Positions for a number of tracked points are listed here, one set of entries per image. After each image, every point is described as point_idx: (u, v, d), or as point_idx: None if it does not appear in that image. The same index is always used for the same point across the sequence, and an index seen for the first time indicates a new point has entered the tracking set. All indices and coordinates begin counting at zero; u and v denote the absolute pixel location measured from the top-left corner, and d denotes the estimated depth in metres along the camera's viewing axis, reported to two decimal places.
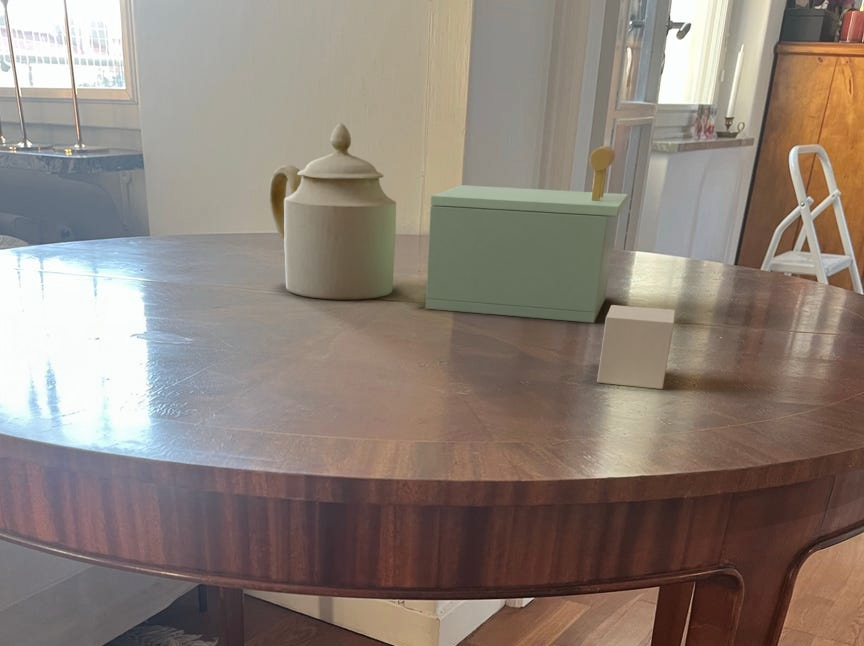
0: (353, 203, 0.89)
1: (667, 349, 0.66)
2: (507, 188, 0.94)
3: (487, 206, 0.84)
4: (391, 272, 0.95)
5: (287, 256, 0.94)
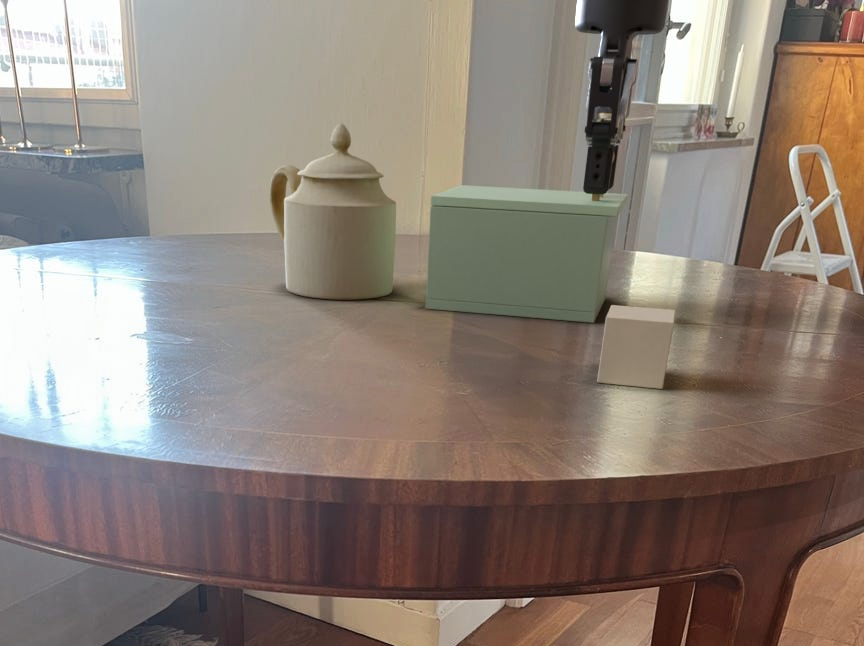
0: (353, 203, 0.89)
1: (667, 349, 0.66)
2: (507, 188, 0.94)
3: (487, 206, 0.84)
4: (391, 272, 0.95)
5: (287, 256, 0.94)
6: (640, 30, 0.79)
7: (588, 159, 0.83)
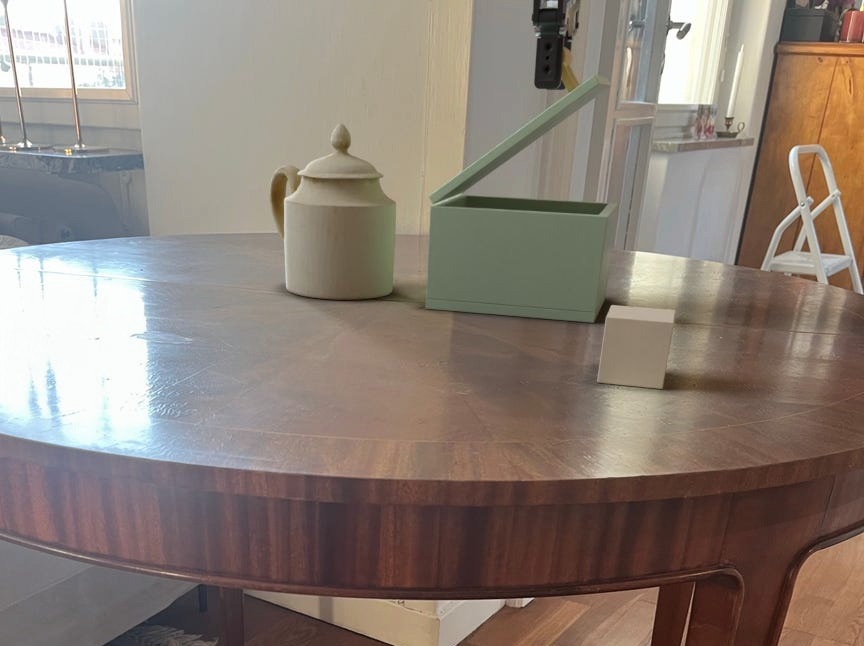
0: (353, 203, 0.89)
1: (667, 349, 0.66)
2: None
3: (480, 167, 0.83)
4: (391, 272, 0.95)
5: (287, 256, 0.94)
6: None
7: (538, 51, 0.80)
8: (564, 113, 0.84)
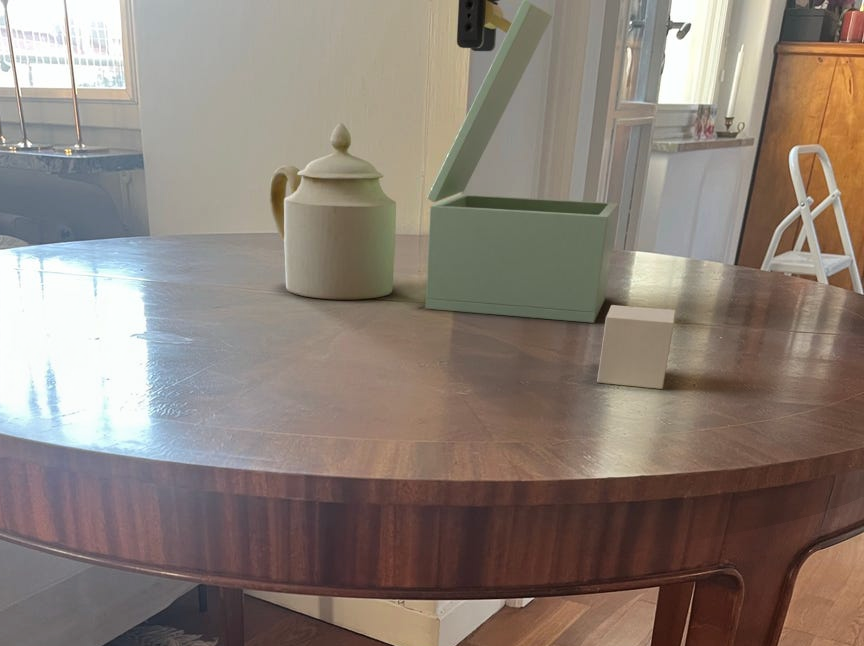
0: (353, 203, 0.89)
1: (667, 349, 0.66)
2: None
3: (460, 144, 0.83)
4: (391, 272, 0.95)
5: (287, 256, 0.94)
6: None
7: (460, 10, 0.81)
8: (516, 57, 0.83)
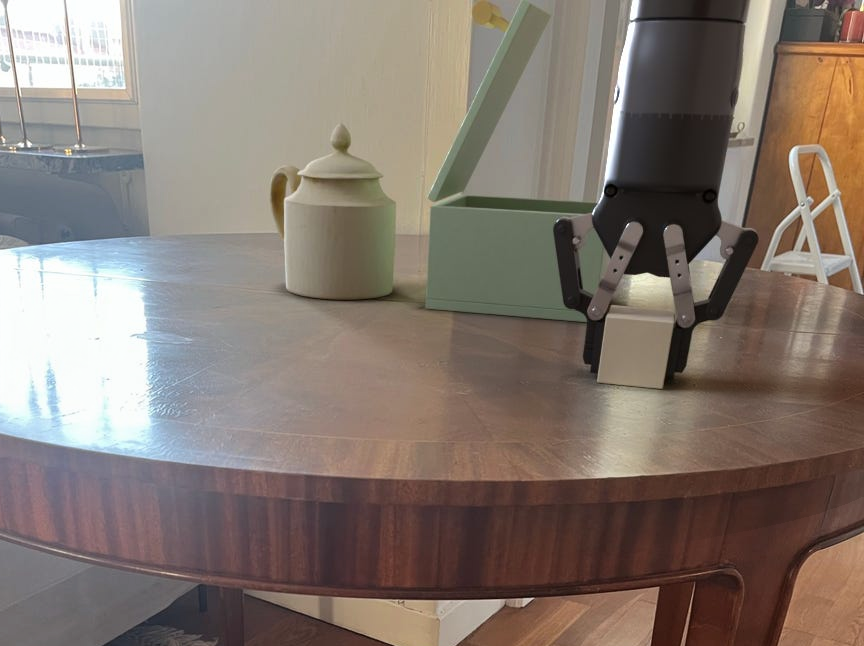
0: (353, 203, 0.89)
1: (667, 349, 0.66)
2: None
3: (460, 143, 0.83)
4: (391, 272, 0.95)
5: (287, 256, 0.94)
6: None
7: (679, 343, 0.67)
8: (515, 56, 0.83)
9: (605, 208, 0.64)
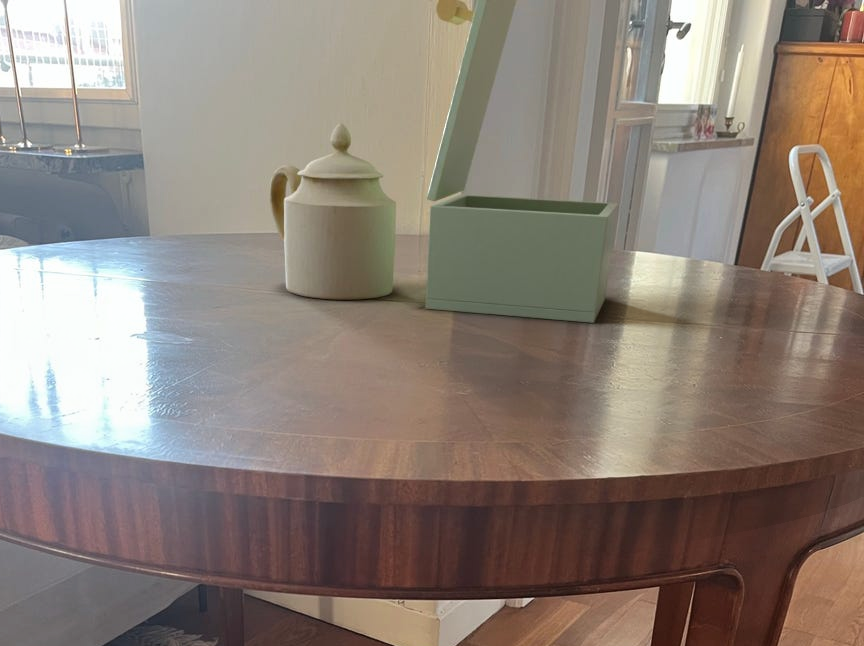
0: (353, 203, 0.89)
1: None
2: None
3: (449, 137, 0.83)
4: (391, 272, 0.95)
5: (287, 256, 0.94)
6: None
7: None
8: (488, 42, 0.83)
9: None
